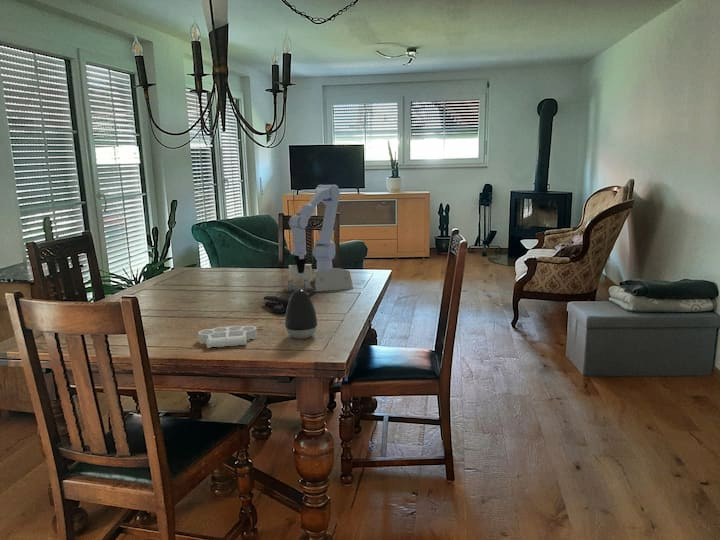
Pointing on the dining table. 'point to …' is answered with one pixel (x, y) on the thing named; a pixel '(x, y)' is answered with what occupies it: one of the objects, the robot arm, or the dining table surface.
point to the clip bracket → (293, 288)
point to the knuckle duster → (227, 336)
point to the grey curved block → (333, 279)
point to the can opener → (276, 306)
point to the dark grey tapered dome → (301, 315)
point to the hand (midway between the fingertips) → (300, 272)
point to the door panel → (296, 275)
